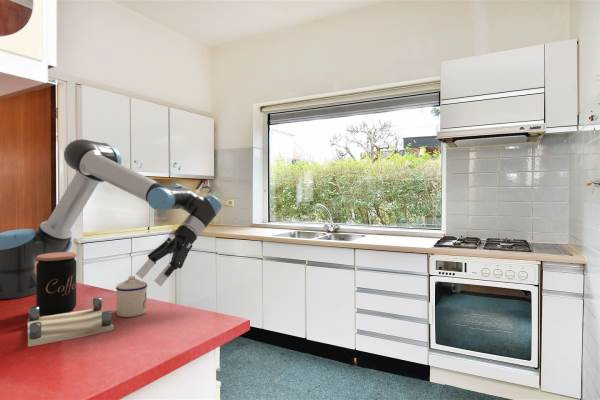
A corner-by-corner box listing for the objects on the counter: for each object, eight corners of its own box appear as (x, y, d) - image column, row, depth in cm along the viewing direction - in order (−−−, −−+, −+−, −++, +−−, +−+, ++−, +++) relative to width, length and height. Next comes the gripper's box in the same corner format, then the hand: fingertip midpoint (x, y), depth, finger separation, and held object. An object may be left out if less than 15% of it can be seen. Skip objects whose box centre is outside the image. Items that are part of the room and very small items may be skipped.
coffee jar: (43, 318, 110) (43, 259, 109) (31, 311, 116) (31, 254, 116) (82, 310, 118) (82, 254, 118) (68, 303, 125) (68, 251, 124)
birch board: (27, 324, 105) (27, 319, 105) (102, 312, 117) (102, 307, 117) (27, 347, 90) (28, 340, 90) (113, 330, 101) (113, 325, 101)
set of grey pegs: (29, 319, 105) (29, 307, 105) (101, 307, 116) (101, 296, 116) (29, 340, 90) (29, 326, 90) (112, 325, 101) (112, 312, 101)
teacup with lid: (150, 314, 115) (150, 277, 115) (118, 319, 110) (118, 281, 110) (141, 304, 125) (141, 270, 125) (111, 309, 120) (111, 273, 119)
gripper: (215, 241, 125) (174, 293, 114) (178, 234, 141) (139, 280, 131) (202, 226, 121) (157, 279, 110) (165, 221, 137) (124, 267, 127)
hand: (147, 280), depth 120 cm, fingers open, 13 cm apart
